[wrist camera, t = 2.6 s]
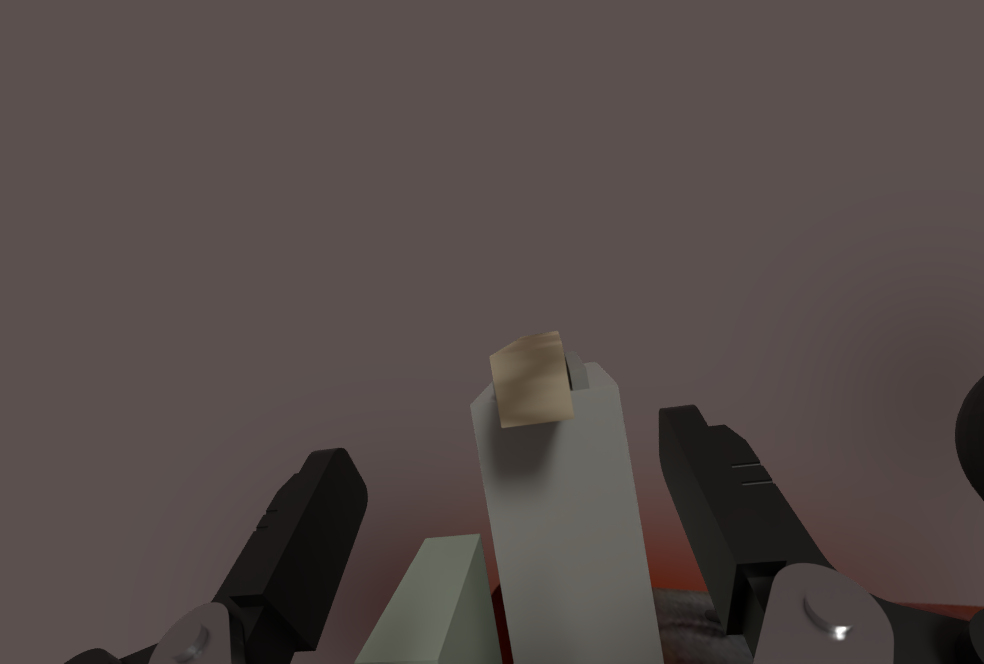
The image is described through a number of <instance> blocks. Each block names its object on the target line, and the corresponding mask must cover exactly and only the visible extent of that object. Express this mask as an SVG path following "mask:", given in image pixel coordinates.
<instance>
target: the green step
mask: <svg viewBox="0 0 984 664" xmlns="http://www.w3.org/2000/svg"><path fill="white" fill-rule="evenodd" d="M354 664H502V658H501V652H500V646H499V640H498V634H497V629H496V623H495V617H494V611H493V605H492V599H491V593H490V587H489V582H488V576H487V570H486V565H485V559H484V553H483V546H482V541H481V535H480V534H472V535H460V536H450V537H438V538H426V539H425V541H424V543H423V545H422V547H421V548H420V550H419V552H418V553H417V555H416V557H415V558H414V560H413V562H412V564H411V565H410V567H409V569H408V571H407V572H406V574H405V576H404V578H403V579H402V581H401V583H400V584H399V586H398V588H397V590H396V591H395V593H394V595H393V597H392V598H391V600H390V602H389V604H388V605H387V607H386V609H385V611H384V612H383V614H382V616H381V618H380V619H379V621H378V623H377V624H376V626H375V628H374V630H373V631H372V633H371V635H370V637H369V638H368V640H367V642H366V644H365V645H364V647H363V649H362V650H361V652H360V654H359V656H358V657H357V659H356V661H355V663H354Z"/></svg>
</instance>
